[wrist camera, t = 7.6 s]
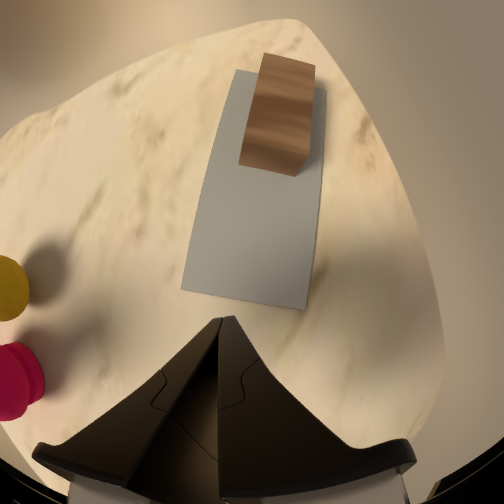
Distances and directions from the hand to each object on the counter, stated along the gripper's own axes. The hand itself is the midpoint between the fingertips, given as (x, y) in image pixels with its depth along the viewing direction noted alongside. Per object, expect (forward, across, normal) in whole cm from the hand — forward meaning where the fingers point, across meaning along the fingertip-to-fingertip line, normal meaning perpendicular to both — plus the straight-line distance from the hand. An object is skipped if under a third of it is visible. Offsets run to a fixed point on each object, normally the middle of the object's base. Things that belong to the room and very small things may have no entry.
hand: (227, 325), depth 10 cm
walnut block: (+14, +4, +3) cm, 15 cm away
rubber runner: (+16, +3, +2) cm, 17 cm away
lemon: (+8, -21, -1) cm, 22 cm away
